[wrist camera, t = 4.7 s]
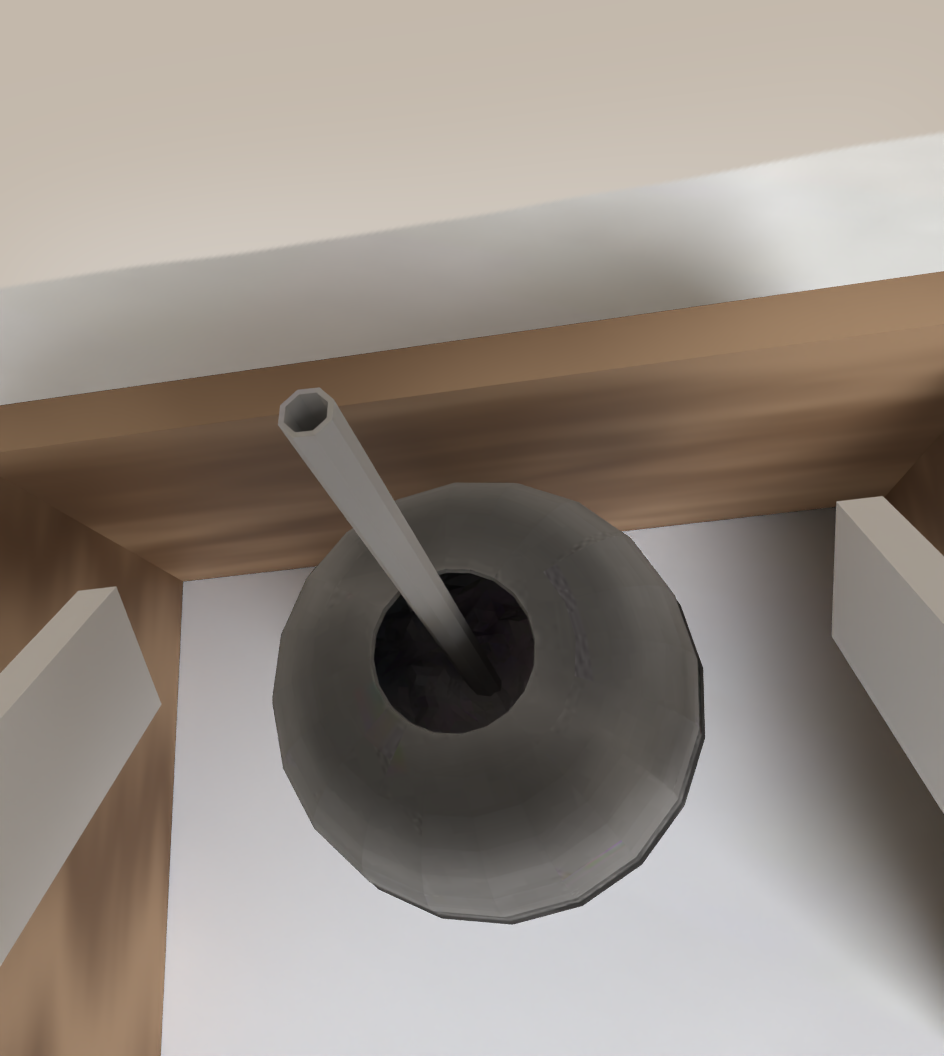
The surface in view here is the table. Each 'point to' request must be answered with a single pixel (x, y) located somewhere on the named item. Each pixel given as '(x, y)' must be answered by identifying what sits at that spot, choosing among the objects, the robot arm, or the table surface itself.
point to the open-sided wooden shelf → (406, 469)
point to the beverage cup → (481, 689)
